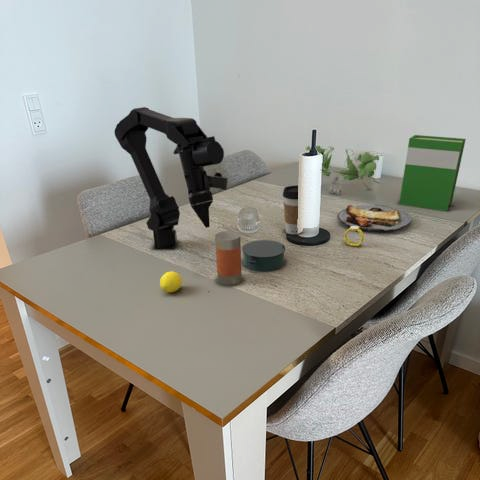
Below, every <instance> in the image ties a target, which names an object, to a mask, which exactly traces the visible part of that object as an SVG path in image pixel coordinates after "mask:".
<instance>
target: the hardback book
mask: <svg viewBox="0 0 480 480" xmlns="http://www.w3.org/2000/svg"><path fill="white" fill-rule="evenodd" d="M466 140H467V138H459V137H458V138H457V137H447V136H436V135H435V136H434V135H423V134H421V135H420V134H414V135H413V136H411V137H409V138H408V146H407V150H406V151H407V152H406V158H405V165H404V170H403V177H402V183H401V188H400V189H401V190H400V196H399V201H398V202H399V205H404V206H410V207H411V206H412V207H417V208H425V209H430V210H438V211H445V212H448V209H449V207H451V206H452V203H453V199H454V194H455V190H456V186H457V181H458V177H459V173H460V167H461V163H462V158H463V154H464V150H465V144H466Z"/></svg>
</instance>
